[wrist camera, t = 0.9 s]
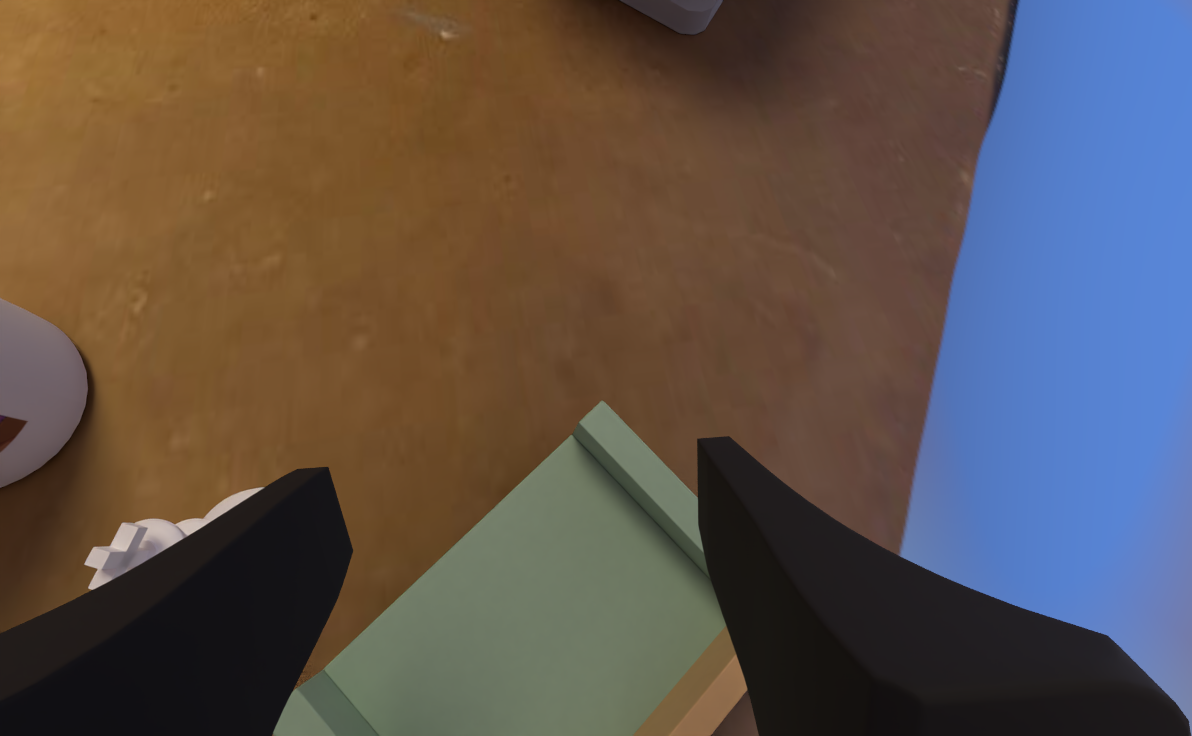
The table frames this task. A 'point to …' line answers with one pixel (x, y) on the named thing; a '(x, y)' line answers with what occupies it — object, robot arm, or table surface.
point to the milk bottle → (36, 391)
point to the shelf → (548, 616)
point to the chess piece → (149, 540)
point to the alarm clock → (679, 13)
